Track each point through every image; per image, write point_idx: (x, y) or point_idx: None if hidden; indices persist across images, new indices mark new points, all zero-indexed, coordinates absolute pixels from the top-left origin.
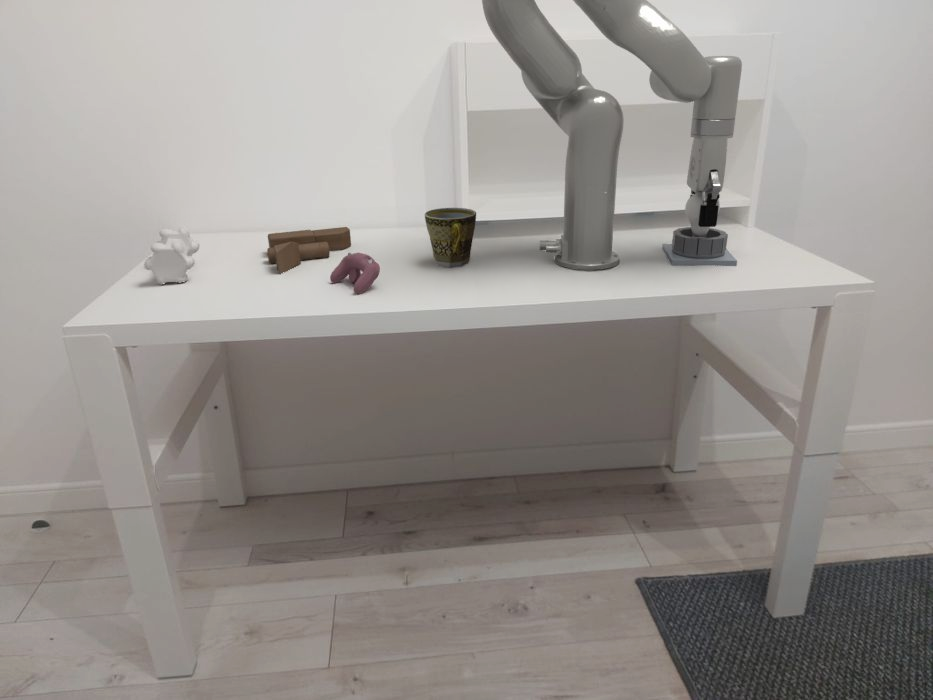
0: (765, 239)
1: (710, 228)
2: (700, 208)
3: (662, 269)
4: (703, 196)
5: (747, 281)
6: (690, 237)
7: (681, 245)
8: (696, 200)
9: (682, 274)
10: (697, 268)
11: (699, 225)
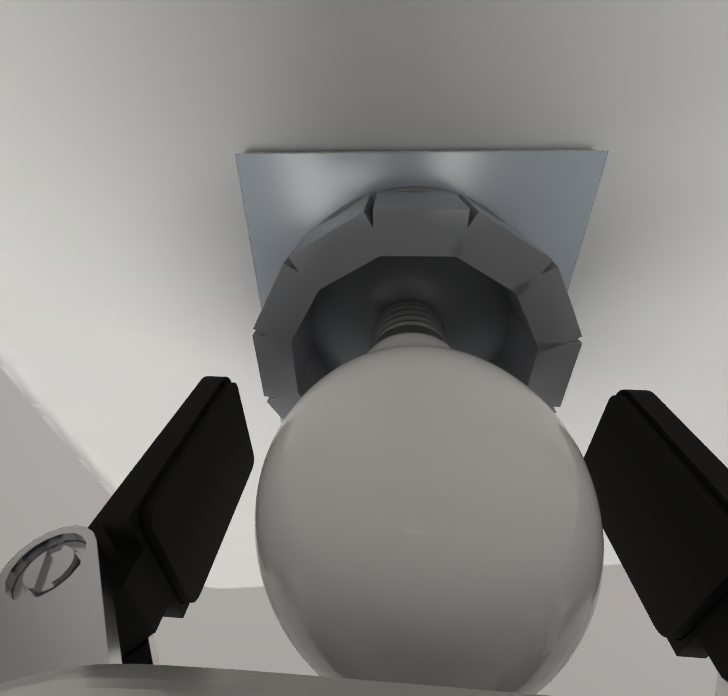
0: (609, 550)
1: None
2: (131, 485)
3: (157, 81)
4: (7, 658)
5: (113, 397)
6: (294, 296)
7: (315, 232)
8: (294, 537)
9: (106, 183)
10: (223, 271)
11: (206, 379)
